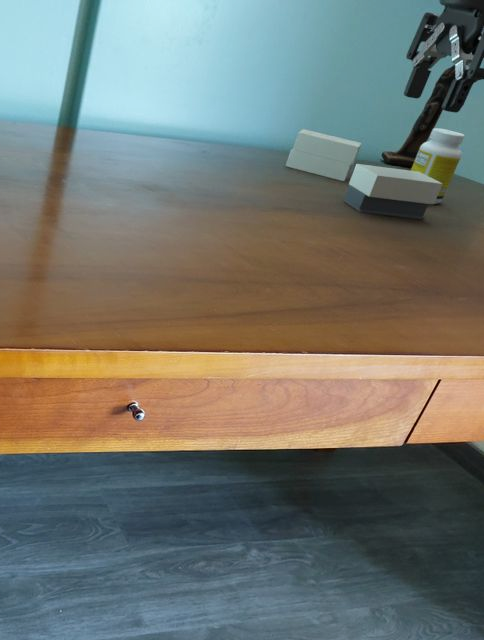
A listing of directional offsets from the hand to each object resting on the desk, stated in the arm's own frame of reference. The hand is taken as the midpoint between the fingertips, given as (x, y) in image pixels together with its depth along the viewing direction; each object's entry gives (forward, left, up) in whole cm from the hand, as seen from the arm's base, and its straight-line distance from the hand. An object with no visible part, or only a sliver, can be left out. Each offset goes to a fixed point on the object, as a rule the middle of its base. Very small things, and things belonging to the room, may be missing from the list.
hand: (429, 104), depth 97 cm
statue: (-13, -48, -17) cm, 53 cm away
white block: (0, 0, -13) cm, 13 cm away
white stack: (+6, -25, -17) cm, 31 cm away
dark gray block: (0, 0, -17) cm, 17 cm away
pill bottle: (-10, -21, -17) cm, 29 cm away
